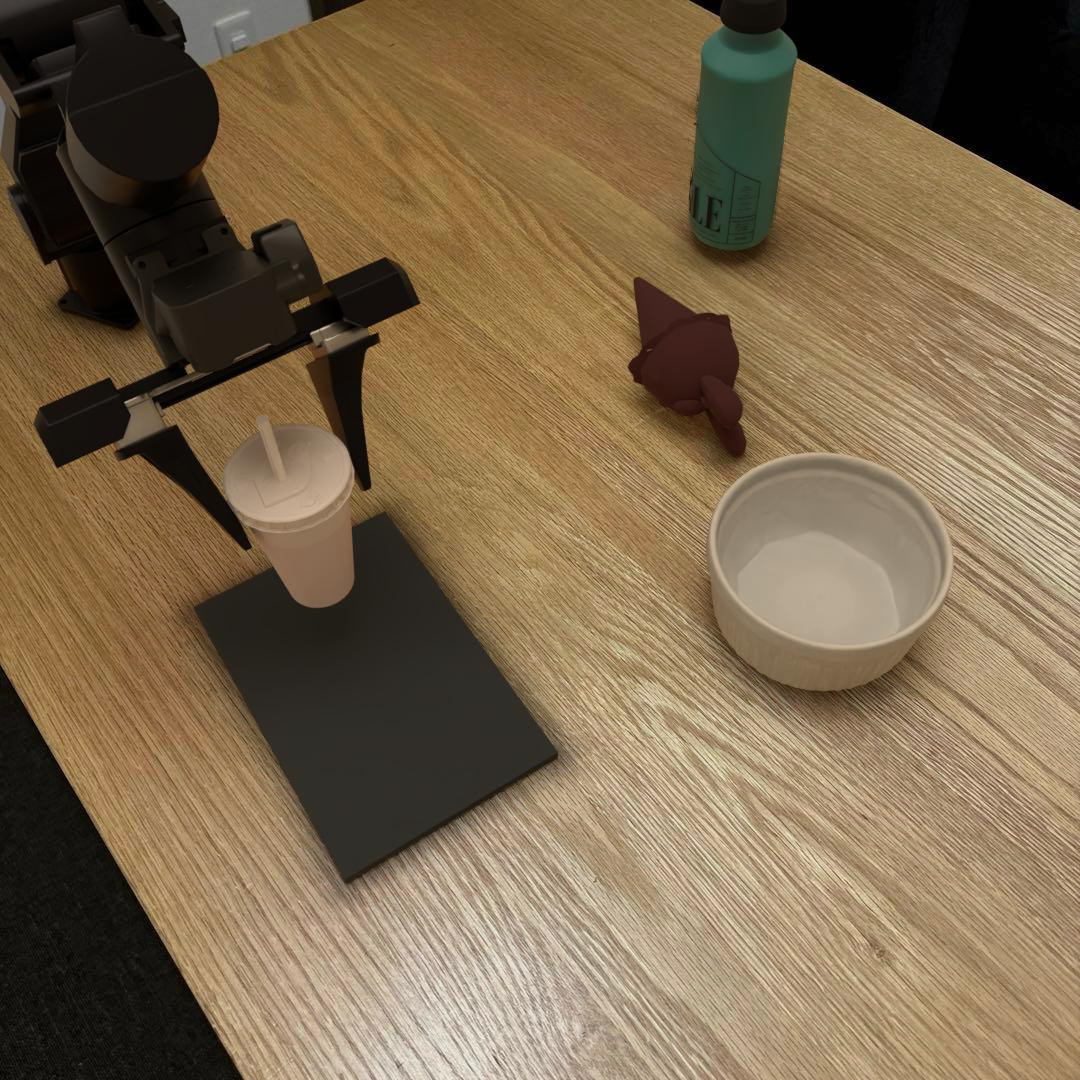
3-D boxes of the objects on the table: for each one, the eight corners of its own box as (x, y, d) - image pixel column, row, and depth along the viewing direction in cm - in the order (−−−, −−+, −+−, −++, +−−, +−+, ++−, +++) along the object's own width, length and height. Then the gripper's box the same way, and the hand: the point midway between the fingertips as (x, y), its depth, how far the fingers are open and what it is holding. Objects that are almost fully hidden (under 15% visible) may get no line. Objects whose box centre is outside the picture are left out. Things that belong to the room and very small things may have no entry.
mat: (195, 611, 71) (192, 606, 71) (386, 516, 75) (385, 510, 75) (346, 884, 61) (344, 880, 61) (558, 757, 65) (558, 752, 64)
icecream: (577, 271, 79) (677, 439, 72) (677, 220, 79) (787, 384, 71) (597, 331, 85) (691, 492, 78) (690, 285, 85) (793, 441, 78)
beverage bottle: (786, 229, 90) (828, -28, 74) (746, 280, 87) (782, 23, 71) (709, 202, 93) (734, -54, 76) (668, 251, 89) (685, -5, 73)
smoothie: (243, 611, 65) (172, 445, 54) (293, 521, 69) (237, 348, 57) (350, 642, 64) (301, 478, 52) (396, 548, 67) (359, 376, 56)
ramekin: (927, 729, 65) (959, 665, 60) (687, 696, 67) (696, 630, 61) (924, 537, 73) (952, 464, 67) (708, 511, 75) (718, 438, 69)
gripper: (-50, 277, 46) (141, 628, 50) (374, 110, 52) (520, 437, 55) (-28, 310, 56) (130, 599, 60) (324, 169, 62) (450, 440, 65)
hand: (307, 519), depth 60 cm, fingers closed on smoothie, 6 cm apart
